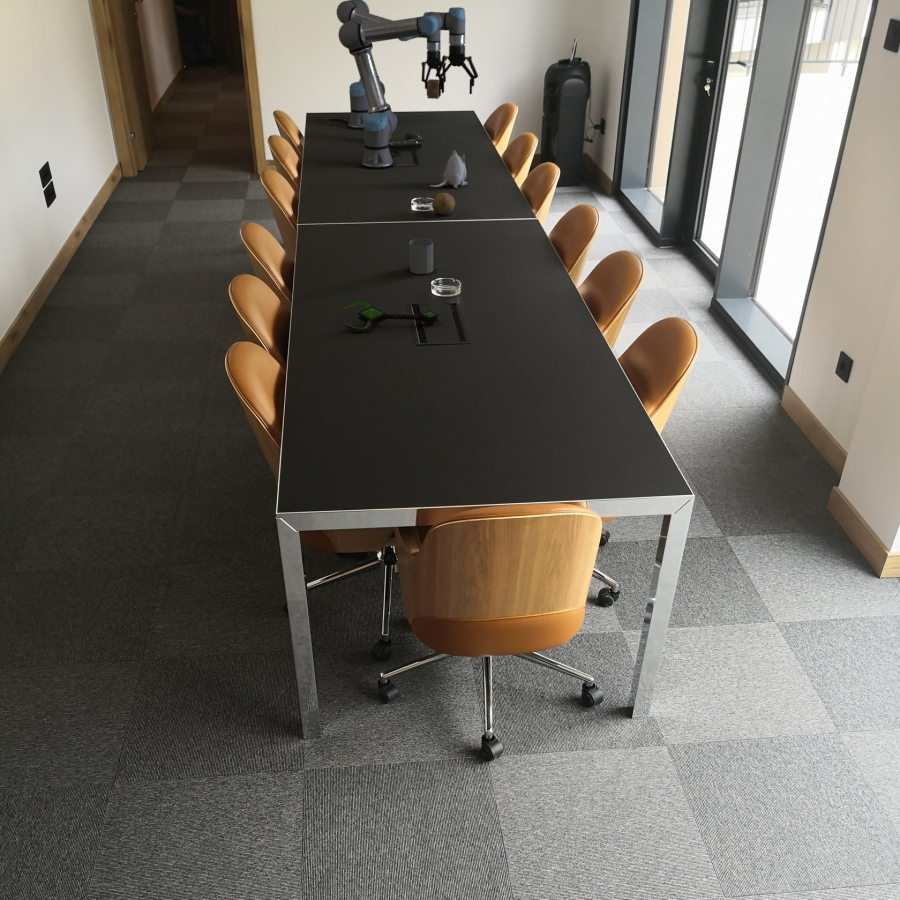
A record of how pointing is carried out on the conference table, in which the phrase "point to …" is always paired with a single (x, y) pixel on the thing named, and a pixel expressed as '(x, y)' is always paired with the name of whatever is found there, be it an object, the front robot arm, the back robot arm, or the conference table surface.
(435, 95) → the brick
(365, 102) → the back robot arm
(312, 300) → the conference table surface
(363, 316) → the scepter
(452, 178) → the toy
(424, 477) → the conference table surface
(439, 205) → the potato
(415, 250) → the cup
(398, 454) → the conference table surface
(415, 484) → the conference table surface
